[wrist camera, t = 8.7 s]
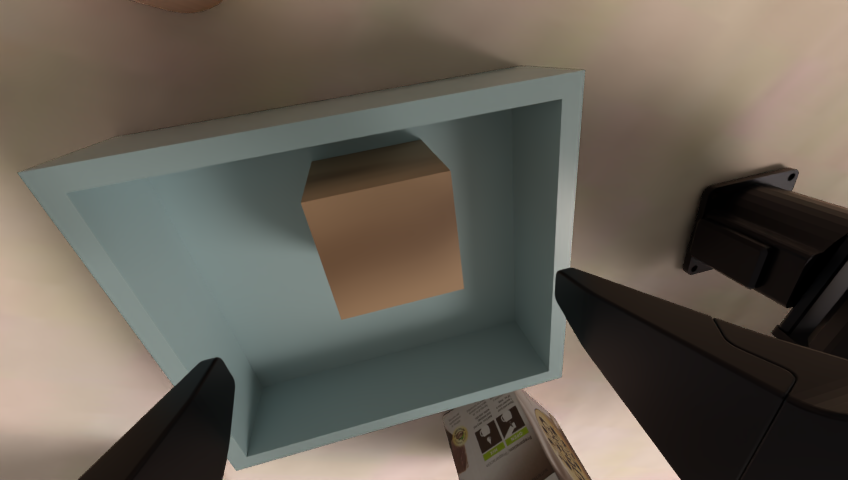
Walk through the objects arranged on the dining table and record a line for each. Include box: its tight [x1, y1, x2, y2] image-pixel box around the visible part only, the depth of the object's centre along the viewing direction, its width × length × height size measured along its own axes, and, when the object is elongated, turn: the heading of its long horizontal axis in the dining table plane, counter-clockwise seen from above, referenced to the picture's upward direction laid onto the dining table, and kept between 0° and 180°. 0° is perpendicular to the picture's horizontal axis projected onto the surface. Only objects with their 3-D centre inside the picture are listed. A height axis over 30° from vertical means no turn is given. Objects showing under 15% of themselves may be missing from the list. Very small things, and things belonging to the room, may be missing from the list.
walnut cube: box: [301, 140, 464, 320], centre depth 15 cm, size 5×5×5 cm
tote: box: [18, 66, 585, 471], centre depth 17 cm, size 18×16×5 cm
